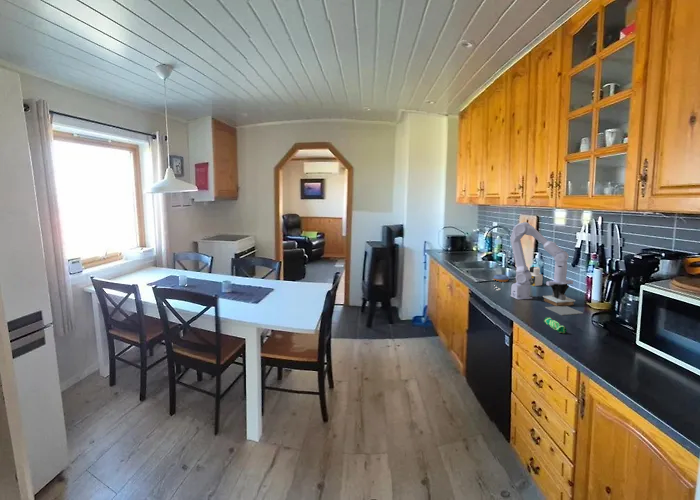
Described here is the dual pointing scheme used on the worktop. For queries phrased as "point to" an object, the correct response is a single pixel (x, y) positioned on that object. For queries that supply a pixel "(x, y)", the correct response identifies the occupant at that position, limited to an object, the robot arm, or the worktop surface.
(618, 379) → the worktop surface
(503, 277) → the doughnut
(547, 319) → the candy
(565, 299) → the lid
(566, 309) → the mat
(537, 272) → the medicine bottle
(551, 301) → the box
